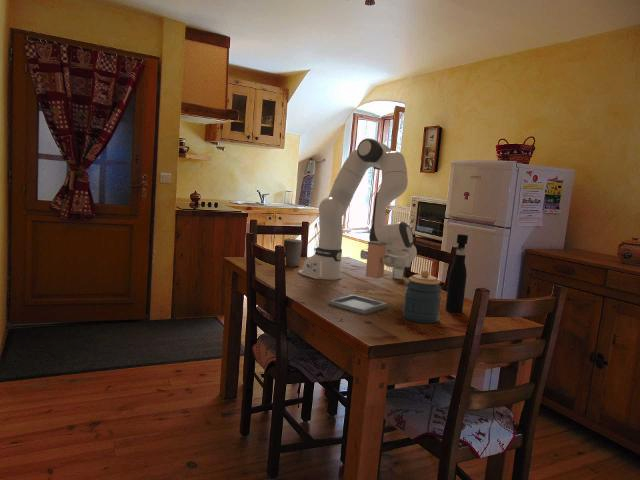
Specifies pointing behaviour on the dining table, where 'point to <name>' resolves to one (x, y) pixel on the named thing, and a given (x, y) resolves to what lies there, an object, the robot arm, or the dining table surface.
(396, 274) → the syrup box
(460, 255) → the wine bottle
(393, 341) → the dining table surface
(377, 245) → the tea tin
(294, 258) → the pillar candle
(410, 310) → the canister
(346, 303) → the tray
